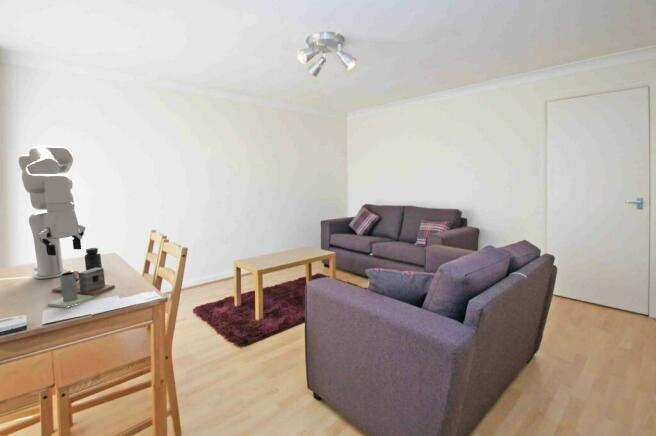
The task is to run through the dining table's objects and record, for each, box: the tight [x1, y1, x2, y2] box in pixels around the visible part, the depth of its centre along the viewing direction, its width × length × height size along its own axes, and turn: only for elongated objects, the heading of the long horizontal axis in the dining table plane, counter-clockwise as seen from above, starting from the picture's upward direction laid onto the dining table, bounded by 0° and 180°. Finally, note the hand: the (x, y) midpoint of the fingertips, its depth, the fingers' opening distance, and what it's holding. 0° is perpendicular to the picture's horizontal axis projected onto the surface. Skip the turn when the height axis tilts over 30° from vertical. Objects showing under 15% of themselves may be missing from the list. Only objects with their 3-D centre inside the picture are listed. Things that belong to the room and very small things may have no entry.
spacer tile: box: [47, 294, 94, 308], centre depth 128 cm, size 10×10×1 cm
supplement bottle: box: [83, 247, 103, 271], centre depth 168 cm, size 7×7×12 cm
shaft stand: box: [51, 267, 116, 297], centre depth 141 cm, size 22×10×9 cm, turn 76°
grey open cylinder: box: [59, 272, 78, 301], centre depth 128 cm, size 4×4×10 cm
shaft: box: [66, 270, 93, 282], centre depth 142 cm, size 12×5×5 cm, turn 76°
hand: (65, 252), depth 126 cm, fingers open, 9 cm apart
